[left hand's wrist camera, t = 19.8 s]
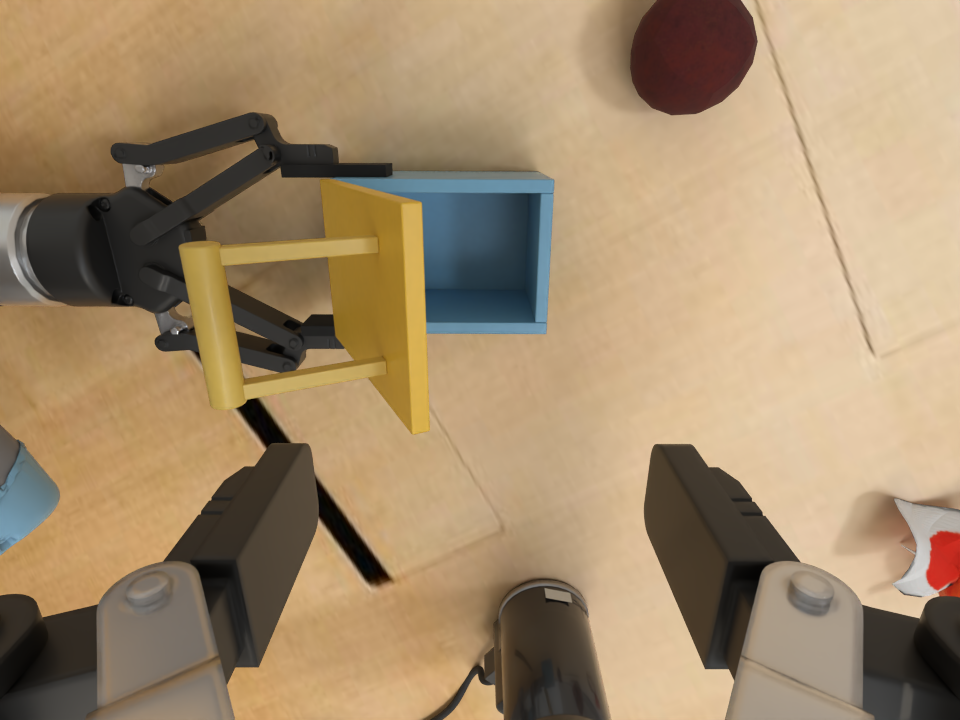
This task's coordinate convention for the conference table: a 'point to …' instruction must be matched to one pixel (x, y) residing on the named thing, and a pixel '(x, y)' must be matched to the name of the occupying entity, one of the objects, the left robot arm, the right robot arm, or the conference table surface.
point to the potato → (692, 53)
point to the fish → (932, 550)
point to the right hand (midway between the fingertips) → (393, 251)
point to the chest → (480, 247)
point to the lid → (355, 299)
